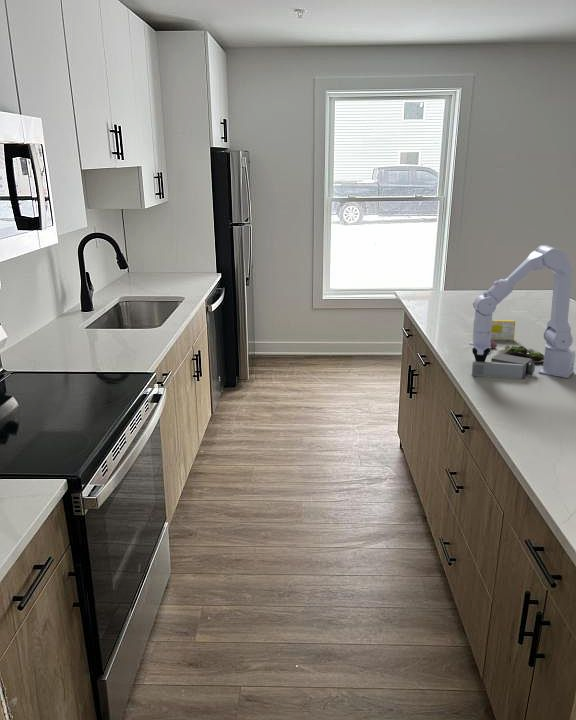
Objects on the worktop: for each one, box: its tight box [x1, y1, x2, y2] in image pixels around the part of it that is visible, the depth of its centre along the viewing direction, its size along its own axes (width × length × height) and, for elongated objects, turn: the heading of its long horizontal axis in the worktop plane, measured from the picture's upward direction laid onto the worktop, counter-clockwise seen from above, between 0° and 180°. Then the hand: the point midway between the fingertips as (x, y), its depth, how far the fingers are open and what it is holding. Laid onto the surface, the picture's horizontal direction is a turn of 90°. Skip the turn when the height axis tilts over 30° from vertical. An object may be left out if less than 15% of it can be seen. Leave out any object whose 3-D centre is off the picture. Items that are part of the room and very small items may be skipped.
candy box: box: [472, 319, 516, 342], centre depth 243 cm, size 16×2×8 cm, turn 74°
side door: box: [471, 360, 526, 380], centre depth 201 cm, size 17×2×5 cm, turn 72°
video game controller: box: [489, 339, 497, 349], centre depth 231 cm, size 10×5×7 cm, turn 141°
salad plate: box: [496, 344, 545, 366], centre depth 221 cm, size 19×18×5 cm
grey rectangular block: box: [490, 353, 536, 378], centre depth 205 cm, size 13×7×5 cm, turn 51°
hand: (479, 368), depth 205 cm, fingers closed
